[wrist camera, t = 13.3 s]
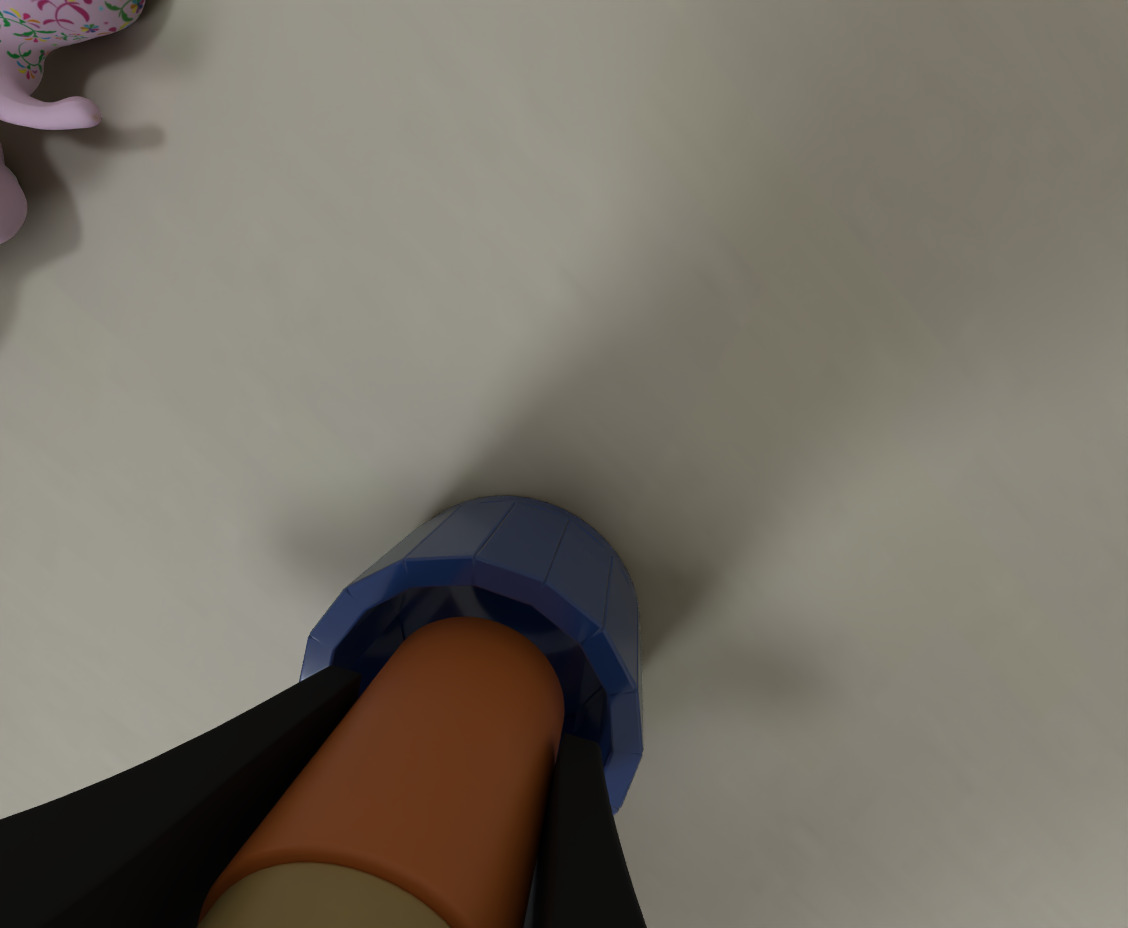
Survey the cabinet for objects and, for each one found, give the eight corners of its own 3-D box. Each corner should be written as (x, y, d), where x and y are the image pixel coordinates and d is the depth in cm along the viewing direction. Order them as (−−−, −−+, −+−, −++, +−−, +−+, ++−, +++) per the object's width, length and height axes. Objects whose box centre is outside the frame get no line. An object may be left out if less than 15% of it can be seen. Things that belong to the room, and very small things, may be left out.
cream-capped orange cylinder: (597, 742, 11) (551, 1210, 5) (444, 798, 12) (249, 1259, 6) (508, 585, 11) (340, 901, 5) (355, 655, 11) (42, 1001, 5)
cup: (685, 677, 14) (703, 809, 10) (467, 760, 16) (409, 904, 12) (563, 449, 13) (531, 495, 9) (345, 560, 15) (235, 641, 11)
